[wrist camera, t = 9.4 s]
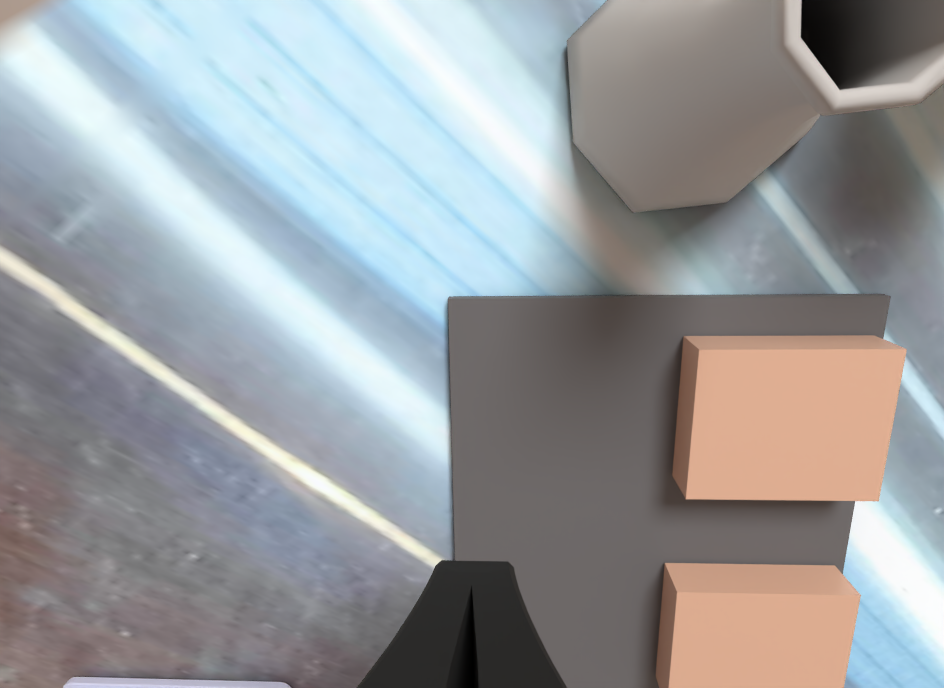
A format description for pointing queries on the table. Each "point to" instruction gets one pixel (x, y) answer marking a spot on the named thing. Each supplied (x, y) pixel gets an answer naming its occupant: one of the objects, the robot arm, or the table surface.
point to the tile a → (755, 626)
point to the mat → (612, 461)
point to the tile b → (785, 417)
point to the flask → (735, 85)
